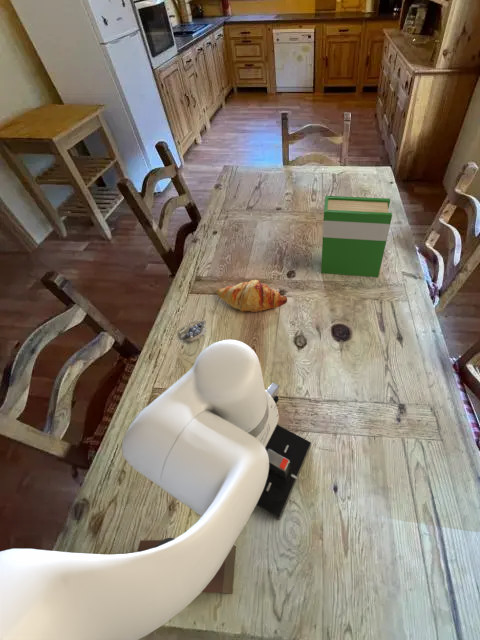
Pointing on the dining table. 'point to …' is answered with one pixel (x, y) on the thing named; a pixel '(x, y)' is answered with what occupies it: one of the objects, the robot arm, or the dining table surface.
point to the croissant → (251, 296)
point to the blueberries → (193, 331)
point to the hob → (277, 485)
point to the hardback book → (354, 235)
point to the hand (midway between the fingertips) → (253, 450)
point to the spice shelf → (222, 578)
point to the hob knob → (278, 463)
